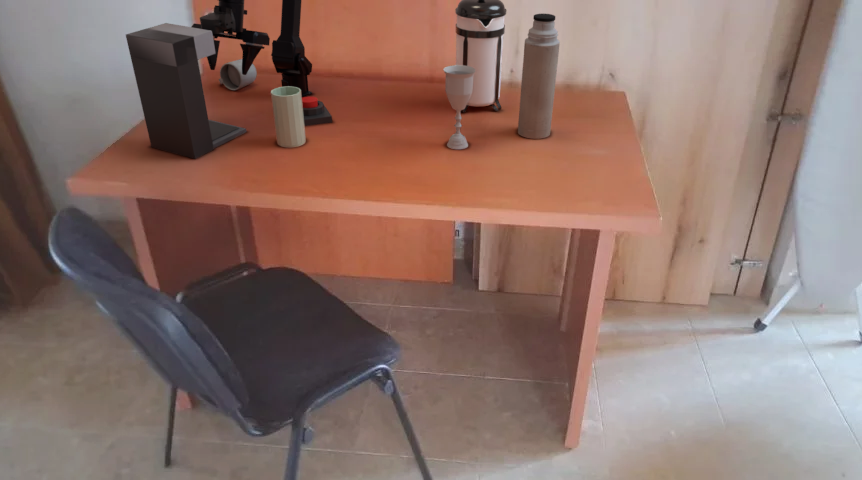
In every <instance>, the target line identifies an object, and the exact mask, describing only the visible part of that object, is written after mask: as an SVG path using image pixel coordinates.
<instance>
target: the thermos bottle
mask: <svg viewBox="0 0 862 480" xmlns="http://www.w3.org/2000/svg"><path fill="white" fill-rule="evenodd" d="M532 19H533V21H532V27H530V28H529V29H528V33H527V37H526V38H525V39H524V43H523V44H524V45H523V47H524V48H523V59H522V70H521V71H522V72H521V85H520V96H519V111H518V122H517V125H518V126H517V133H518V135H520V137H523V138H527V139H532V140H533V139H535V140H539V139H540V140H541V139H545V138H548V137H549V136H550V135H551V132H552V131H551V130H552V120H553V110H554V101H555V93H556V81H557V74H558V73H557V72H558V63H559V54H560V45H561V44H560V43H561V41H560V40H559V39H558V36H559V33H558V32H559V31H558V30H557V28H555V25H556V24H555V23H556V22H555V20H556V15H554V14H551V13H536V14H533V18H532Z"/></svg>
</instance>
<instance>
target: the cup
mask: <svg viewBox="0 0 862 480" xmlns="http://www.w3.org/2000/svg"><path fill="white" fill-rule="evenodd" d="M302 98H303V97H302V94H301V90H300V88H297V87H292V86H285V87H282V86H278V87H275V88H274V89H271V90H270V99H271V107H272V115H273V116H272V117H273V122H274V131H275V138H276V140H275V141H276V144H277V146H279V147H282V148H297V147H300V146H303V145H305V144H306V142H307V137H306V136H307V135H306V126H305V124H304V114H303V104H302Z"/></svg>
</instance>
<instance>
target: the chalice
mask: <svg viewBox="0 0 862 480" xmlns="http://www.w3.org/2000/svg"><path fill="white" fill-rule="evenodd" d="M442 71H443V72H444V74H445V81H444V83H445V85H444V86H445V87H444V91H445V94H446V98H447V100H448V102H449V104H450V106H451V108H452V110H454V111H455V113H456V114H455V117H454V119H455V124H454V125H453V127H455V133H453V134H452V135H451V136H450V137H449V139H448V141H447V143H446V147H448V148H449V149H452V150H464V149H467V148H468V147H469V143H468V140H467V138H466V135H464V134H463V133H461V128H462V127H463V125H462V124H461V120H462V119H463V117H462V115H461V113H462V112H461V110H463V109H465V107H466V105H467V103H468V101H469V100H470V97H471V94H472V92H473V75H474V73H475V71H476V69H475V68H473V67H470V66H464V65H456V64H454V65H447V66H445V67H444V68H443V70H442Z"/></svg>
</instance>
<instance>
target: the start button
mask: <svg viewBox="0 0 862 480" xmlns="http://www.w3.org/2000/svg"><path fill="white" fill-rule="evenodd" d="M317 100H318V98H317V97H316V96H312V95H311V96H310V95H307V96H304V97H302V104H303V108H314V107H317V106H318V101H319V100H318V101H317Z"/></svg>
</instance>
